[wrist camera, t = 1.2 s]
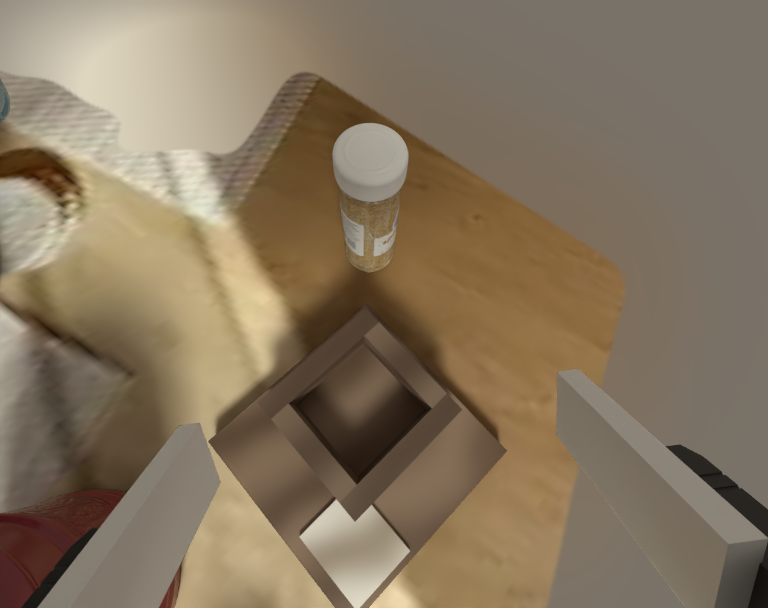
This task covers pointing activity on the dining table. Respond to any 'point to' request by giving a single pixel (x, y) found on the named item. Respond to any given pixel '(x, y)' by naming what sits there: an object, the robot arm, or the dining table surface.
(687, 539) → the robot arm
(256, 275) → the dining table surface
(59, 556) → the canister
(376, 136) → the sprinkles bottle
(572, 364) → the dining table surface
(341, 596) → the spice caddy
